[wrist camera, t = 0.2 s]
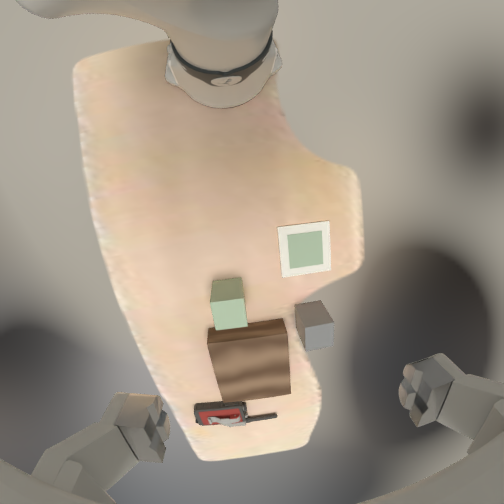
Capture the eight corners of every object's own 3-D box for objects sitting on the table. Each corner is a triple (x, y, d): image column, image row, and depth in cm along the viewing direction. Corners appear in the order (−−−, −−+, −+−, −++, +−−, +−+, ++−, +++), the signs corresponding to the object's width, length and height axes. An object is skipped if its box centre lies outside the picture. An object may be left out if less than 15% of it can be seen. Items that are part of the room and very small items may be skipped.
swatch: (277, 226, 46) (277, 227, 46) (328, 220, 47) (329, 221, 46) (281, 277, 49) (282, 278, 49) (330, 269, 49) (331, 270, 49)
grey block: (294, 304, 51) (304, 327, 43) (320, 300, 51) (334, 322, 44) (295, 326, 53) (305, 351, 45) (320, 322, 53) (333, 345, 45)
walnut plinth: (208, 328, 51) (207, 343, 46) (282, 318, 52) (287, 333, 47) (223, 386, 56) (223, 402, 51) (286, 378, 57) (290, 393, 52)
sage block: (212, 281, 48) (209, 302, 41) (241, 277, 49) (243, 298, 41) (217, 306, 50) (215, 330, 42) (245, 302, 50) (247, 326, 43)
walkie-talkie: (198, 423, 61) (277, 414, 61) (197, 435, 56) (279, 427, 57) (189, 402, 58) (273, 392, 58) (187, 415, 54) (276, 406, 54)
